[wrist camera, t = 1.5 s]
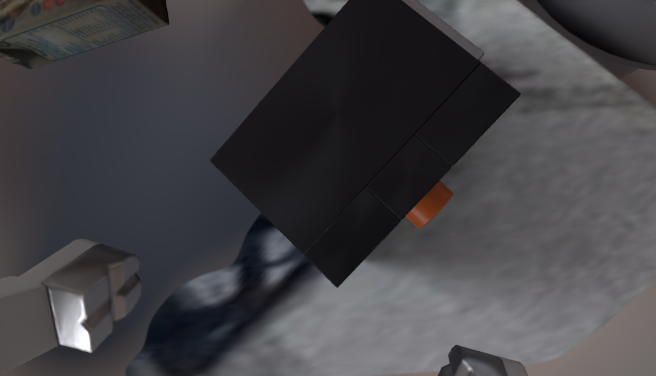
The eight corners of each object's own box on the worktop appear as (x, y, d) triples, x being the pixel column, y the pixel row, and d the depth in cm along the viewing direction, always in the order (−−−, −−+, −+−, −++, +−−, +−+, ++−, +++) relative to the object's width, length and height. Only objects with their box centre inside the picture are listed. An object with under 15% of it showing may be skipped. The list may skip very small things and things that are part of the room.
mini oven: (383, 47, 34) (380, -38, 22) (480, 126, 32) (534, 80, 20) (269, 175, 35) (209, 160, 23) (355, 259, 33) (337, 288, 21)
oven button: (416, 165, 28) (420, 159, 24) (448, 193, 27) (457, 191, 24) (385, 198, 28) (385, 197, 24) (416, 227, 27) (421, 230, 24)
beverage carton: (23, 9, 42) (-45, -27, 35) (165, -40, 39) (120, -90, 32) (31, 72, 41) (-37, 46, 34) (176, 27, 38) (132, -10, 31)
